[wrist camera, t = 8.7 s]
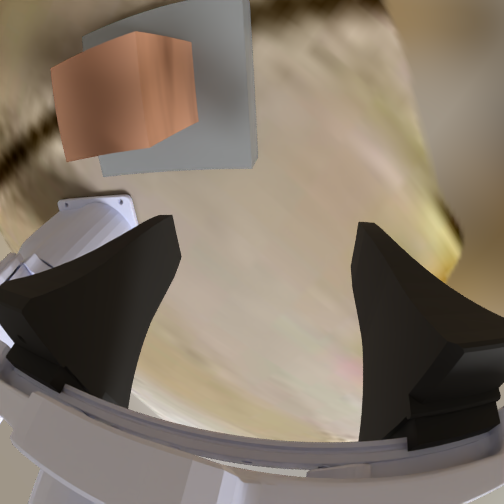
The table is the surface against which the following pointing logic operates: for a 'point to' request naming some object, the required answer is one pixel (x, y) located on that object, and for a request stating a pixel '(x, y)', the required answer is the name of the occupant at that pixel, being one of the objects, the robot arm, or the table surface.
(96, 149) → the terracotta cube
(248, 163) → the gray plinth
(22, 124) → the table surface
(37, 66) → the table surface
